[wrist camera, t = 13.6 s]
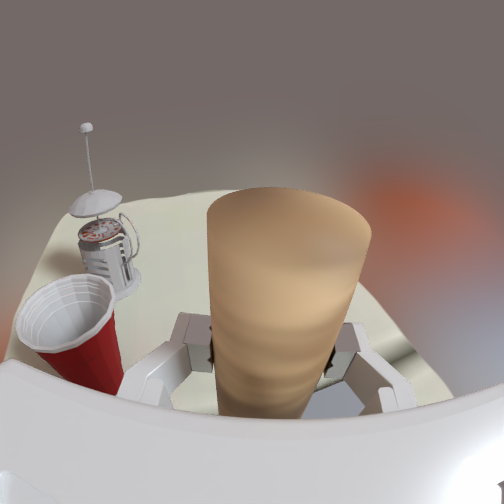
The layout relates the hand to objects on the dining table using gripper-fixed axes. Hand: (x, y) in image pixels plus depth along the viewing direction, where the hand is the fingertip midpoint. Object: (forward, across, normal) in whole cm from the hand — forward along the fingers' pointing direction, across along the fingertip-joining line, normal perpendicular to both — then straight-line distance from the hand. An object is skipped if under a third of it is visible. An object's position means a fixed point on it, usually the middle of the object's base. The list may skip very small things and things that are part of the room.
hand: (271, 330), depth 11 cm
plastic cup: (+6, -17, -19) cm, 26 cm away
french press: (+23, -22, -19) cm, 37 cm away
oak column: (-1, 0, -8) cm, 8 cm away
